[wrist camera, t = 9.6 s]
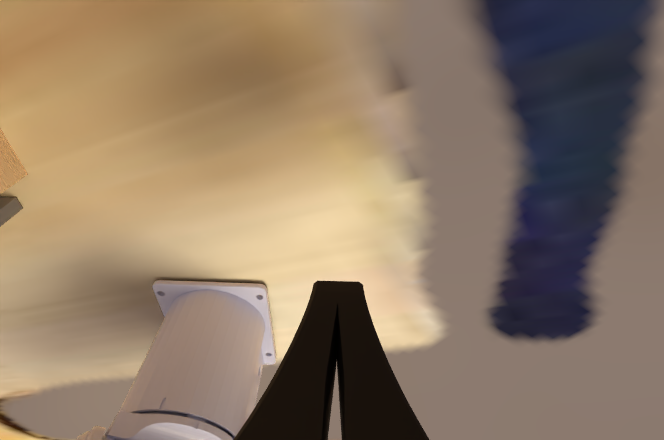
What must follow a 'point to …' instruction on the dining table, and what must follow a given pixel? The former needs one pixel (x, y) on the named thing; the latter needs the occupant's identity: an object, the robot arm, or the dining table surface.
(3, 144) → the block with grey stripes
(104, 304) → the dining table surface
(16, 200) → the bay
